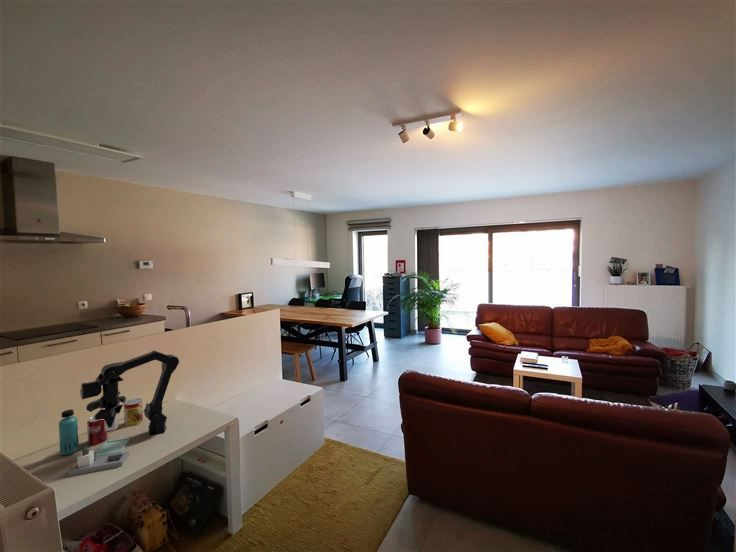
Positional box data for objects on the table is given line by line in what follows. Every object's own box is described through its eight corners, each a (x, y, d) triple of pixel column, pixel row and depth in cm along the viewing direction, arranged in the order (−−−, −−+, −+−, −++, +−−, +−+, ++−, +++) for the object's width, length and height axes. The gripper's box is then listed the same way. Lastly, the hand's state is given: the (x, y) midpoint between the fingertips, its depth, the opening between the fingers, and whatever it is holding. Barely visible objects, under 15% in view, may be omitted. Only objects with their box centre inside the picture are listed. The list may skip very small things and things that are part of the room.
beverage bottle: (62, 460, 141) (60, 415, 140) (57, 455, 144) (55, 412, 144) (81, 452, 146) (79, 409, 146) (76, 448, 150) (74, 406, 149)
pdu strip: (128, 456, 143) (128, 450, 143) (122, 467, 136) (121, 460, 136) (78, 465, 137) (78, 458, 137) (68, 477, 130) (68, 470, 129)
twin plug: (94, 463, 137) (93, 444, 137) (90, 469, 134) (89, 449, 133) (82, 465, 136) (81, 446, 136) (78, 471, 132) (77, 451, 132)
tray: (105, 443, 154) (105, 440, 154) (130, 439, 157) (130, 436, 157) (93, 458, 142) (93, 456, 142) (120, 454, 145) (120, 451, 145)
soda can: (96, 447, 151) (95, 422, 150) (84, 445, 152) (82, 421, 151) (111, 439, 158) (110, 415, 157) (99, 437, 159) (98, 413, 159)
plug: (118, 425, 152) (118, 408, 151) (115, 429, 148) (114, 411, 147) (108, 426, 150) (107, 409, 150) (104, 431, 146) (104, 413, 146)
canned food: (145, 422, 174) (144, 400, 174) (127, 428, 168) (126, 405, 167) (139, 418, 179) (138, 397, 178) (122, 423, 172) (121, 402, 172)
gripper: (98, 387, 154) (99, 419, 155) (78, 403, 137) (80, 438, 137) (125, 384, 158) (126, 415, 159) (110, 399, 141) (111, 434, 141)
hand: (111, 425), depth 149 cm, fingers closed on plug, 4 cm apart
